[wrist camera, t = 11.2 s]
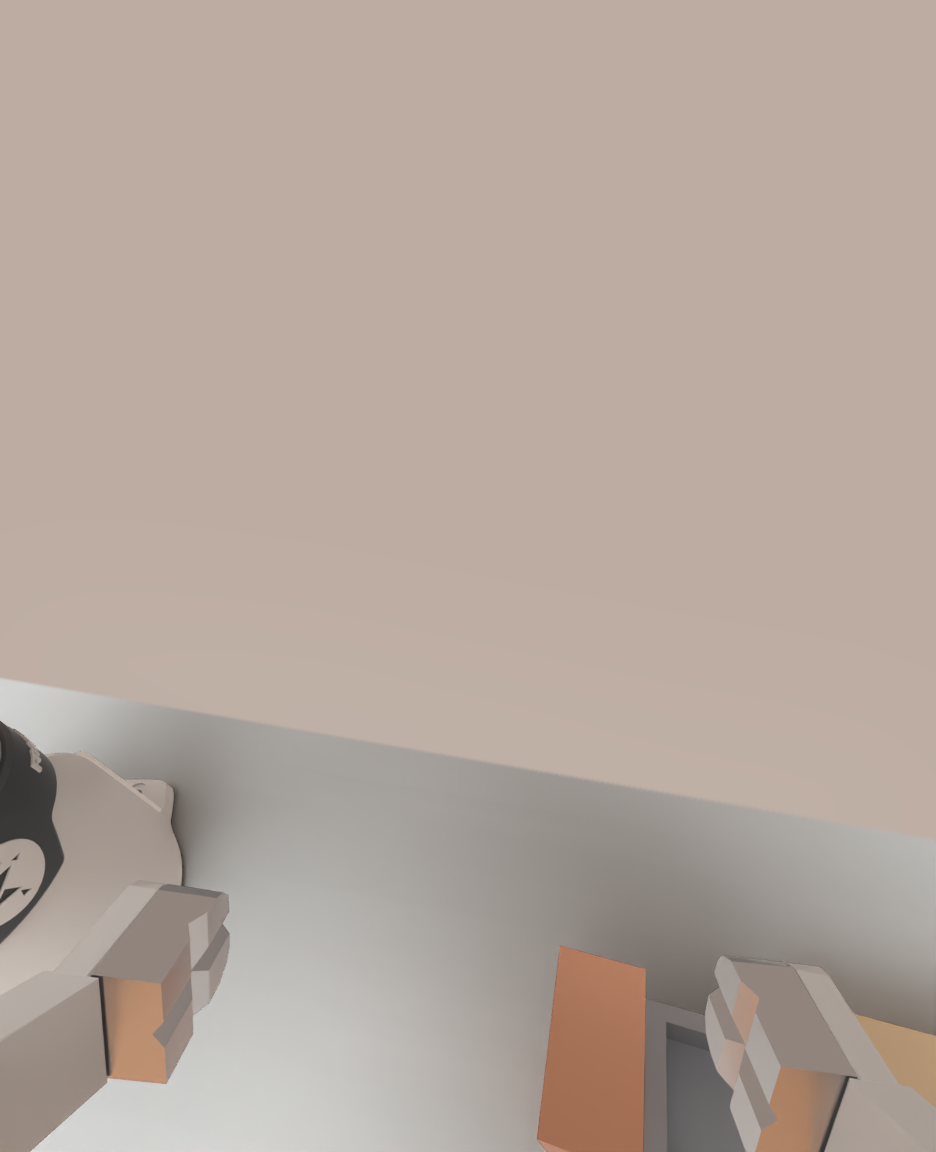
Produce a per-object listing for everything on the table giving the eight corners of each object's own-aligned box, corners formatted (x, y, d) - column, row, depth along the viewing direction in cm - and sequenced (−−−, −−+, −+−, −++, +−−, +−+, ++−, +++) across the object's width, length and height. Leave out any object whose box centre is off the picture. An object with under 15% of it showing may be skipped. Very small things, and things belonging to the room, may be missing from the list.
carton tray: (548, 1221, 20) (524, 1244, 11) (571, 995, 25) (566, 887, 16) (941, 1390, 17) (1370, 1624, 8) (875, 1086, 22) (1084, 1011, 13)
